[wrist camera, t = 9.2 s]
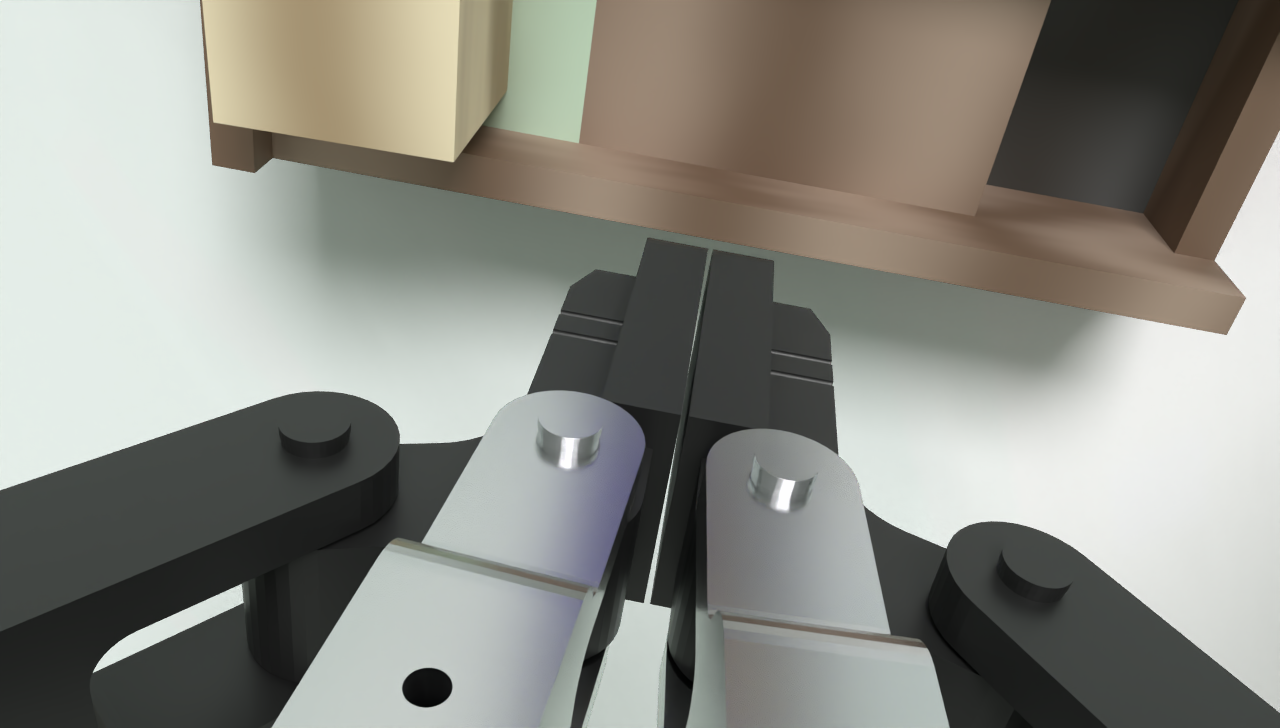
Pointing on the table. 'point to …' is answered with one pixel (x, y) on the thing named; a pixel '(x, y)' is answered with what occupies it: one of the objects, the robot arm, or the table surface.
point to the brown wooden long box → (885, 136)
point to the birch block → (360, 69)
